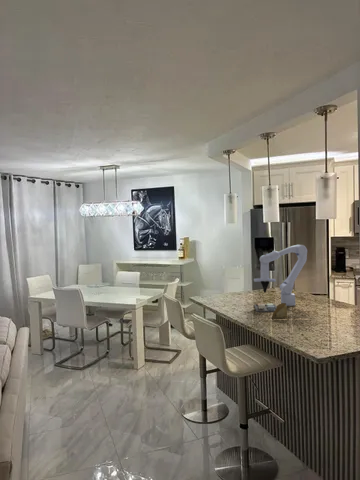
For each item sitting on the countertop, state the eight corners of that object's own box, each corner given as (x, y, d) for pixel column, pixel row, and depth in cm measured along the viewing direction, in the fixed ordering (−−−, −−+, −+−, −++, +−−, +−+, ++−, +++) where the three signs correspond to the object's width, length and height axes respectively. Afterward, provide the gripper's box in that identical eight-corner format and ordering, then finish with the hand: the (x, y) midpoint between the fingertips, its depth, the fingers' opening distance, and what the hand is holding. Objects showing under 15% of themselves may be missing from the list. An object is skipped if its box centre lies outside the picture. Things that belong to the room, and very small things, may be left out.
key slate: (273, 308, 237) (273, 305, 237) (274, 309, 233) (274, 306, 233) (267, 308, 237) (267, 305, 237) (268, 310, 233) (268, 306, 233)
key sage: (272, 306, 243) (272, 303, 243) (273, 307, 239) (273, 304, 239) (266, 306, 243) (266, 303, 243) (267, 307, 239) (267, 304, 239)
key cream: (264, 307, 238) (264, 304, 238) (265, 308, 234) (265, 305, 234) (258, 307, 238) (258, 304, 238) (258, 308, 234) (258, 305, 234)
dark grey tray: (275, 307, 247) (275, 304, 246) (278, 313, 229) (278, 310, 229) (254, 307, 248) (254, 304, 248) (256, 314, 231) (256, 310, 231)
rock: (271, 317, 212) (288, 315, 210) (268, 304, 217) (285, 302, 215) (272, 324, 221) (289, 322, 219) (270, 311, 226) (286, 309, 224)
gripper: (274, 271, 250) (274, 291, 251) (253, 271, 252) (253, 291, 253) (276, 273, 243) (276, 293, 244) (254, 273, 245) (254, 292, 246)
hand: (264, 292), depth 248 cm, fingers closed
